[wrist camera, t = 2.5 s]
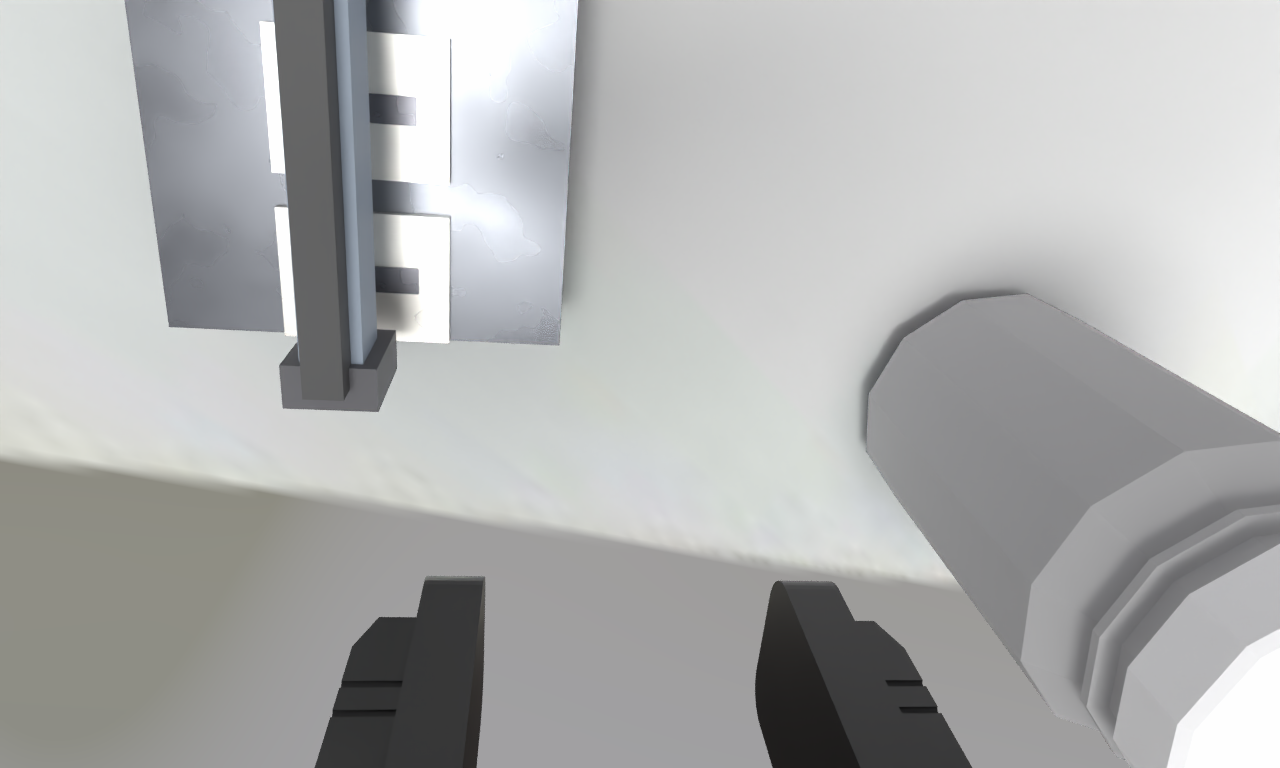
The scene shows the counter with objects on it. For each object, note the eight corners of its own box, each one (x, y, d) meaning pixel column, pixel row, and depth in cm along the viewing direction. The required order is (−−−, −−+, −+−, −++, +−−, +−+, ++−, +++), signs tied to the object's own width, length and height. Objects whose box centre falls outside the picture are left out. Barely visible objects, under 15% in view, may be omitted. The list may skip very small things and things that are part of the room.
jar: (895, 265, 32) (1264, 526, 15) (1123, 303, 34) (1676, 578, 17) (825, 487, 36) (1064, 891, 19) (1034, 513, 37) (1419, 905, 21)
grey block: (588, -270, 24) (613, -441, 15) (558, 306, 31) (562, 426, 22) (146, -332, 23) (-120, -564, 14) (215, 288, 30) (68, 409, 21)
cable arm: (381, -251, 19) (345, -309, 16) (396, 368, 25) (373, 423, 22) (269, -266, 19) (208, -329, 15) (312, 364, 25) (274, 420, 21)
